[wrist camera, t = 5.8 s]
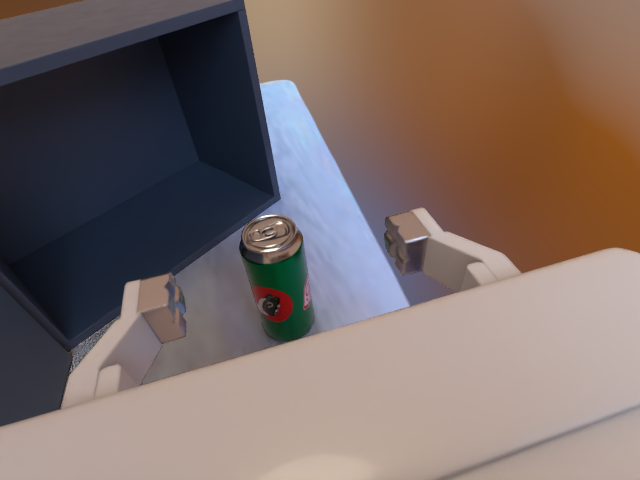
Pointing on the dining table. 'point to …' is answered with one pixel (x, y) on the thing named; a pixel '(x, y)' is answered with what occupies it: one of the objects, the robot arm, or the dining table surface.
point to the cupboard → (123, 150)
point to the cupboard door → (28, 365)
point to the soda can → (278, 276)
